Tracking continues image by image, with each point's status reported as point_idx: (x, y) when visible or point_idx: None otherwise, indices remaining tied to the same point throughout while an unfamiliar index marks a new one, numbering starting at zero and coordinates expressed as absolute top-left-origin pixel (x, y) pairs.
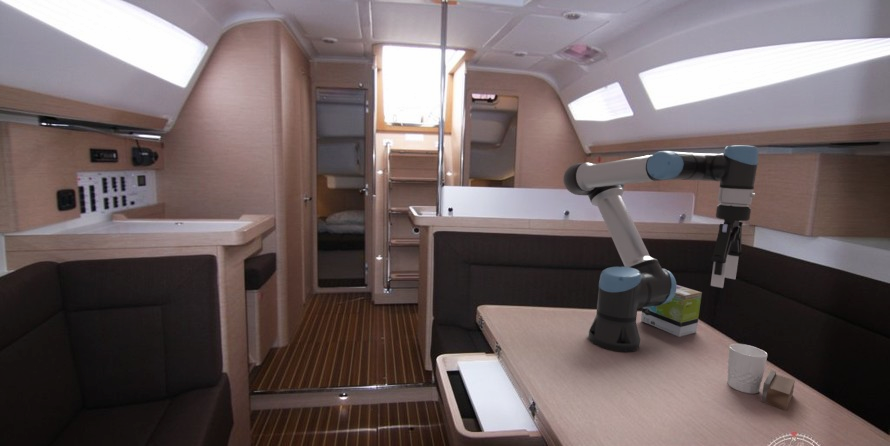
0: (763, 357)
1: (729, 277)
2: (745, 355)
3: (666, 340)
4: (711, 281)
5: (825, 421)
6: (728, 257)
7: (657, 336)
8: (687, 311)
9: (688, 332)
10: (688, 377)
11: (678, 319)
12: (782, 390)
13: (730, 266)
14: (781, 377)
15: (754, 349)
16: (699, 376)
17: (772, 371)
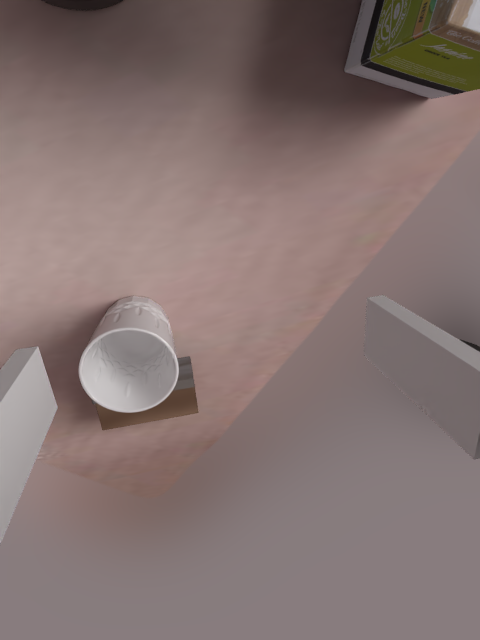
0: (115, 410)
1: (367, 330)
2: (81, 381)
3: (275, 51)
4: (6, 365)
5: (131, 451)
6: (468, 382)
7: (286, 6)
8: (421, 60)
9: (393, 85)
10: (52, 225)
11: (377, 43)
12: (110, 417)
13: (415, 363)
14: (186, 394)
15: (174, 370)
16: (90, 241)
17: (185, 382)
